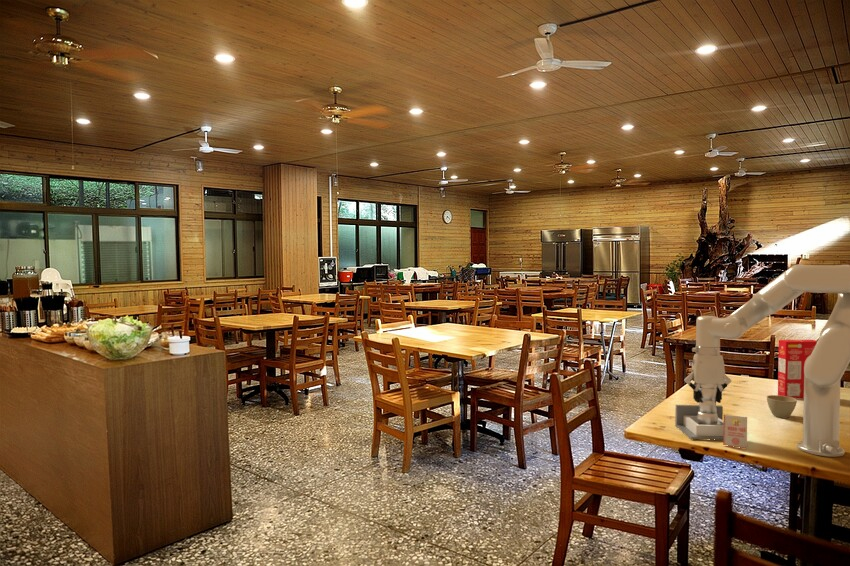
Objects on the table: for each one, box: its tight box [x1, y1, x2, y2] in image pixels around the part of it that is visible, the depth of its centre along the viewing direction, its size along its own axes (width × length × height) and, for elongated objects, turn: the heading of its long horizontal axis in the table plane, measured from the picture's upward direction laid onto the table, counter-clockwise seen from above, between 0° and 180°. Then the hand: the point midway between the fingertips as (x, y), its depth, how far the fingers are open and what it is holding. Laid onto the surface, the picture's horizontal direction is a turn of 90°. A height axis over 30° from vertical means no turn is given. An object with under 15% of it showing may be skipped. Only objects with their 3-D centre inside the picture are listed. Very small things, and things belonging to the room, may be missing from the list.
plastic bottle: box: [697, 384, 718, 425], centre depth 202 cm, size 6×7×20 cm
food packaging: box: [777, 339, 818, 398], centre depth 252 cm, size 15×5×25 cm, turn 89°
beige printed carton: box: [722, 414, 748, 449], centre depth 189 cm, size 4×7×10 cm, turn 61°
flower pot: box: [766, 394, 798, 419], centre depth 222 cm, size 10×10×7 cm
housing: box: [674, 404, 724, 441], centre depth 202 cm, size 16×16×8 cm
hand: (707, 401), depth 202 cm, fingers closed on plastic bottle, 6 cm apart
